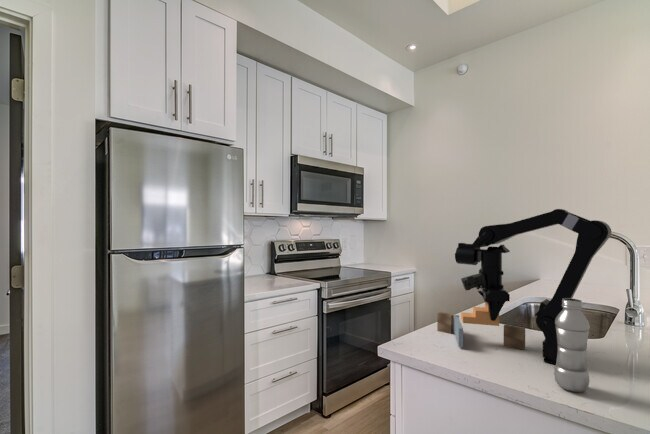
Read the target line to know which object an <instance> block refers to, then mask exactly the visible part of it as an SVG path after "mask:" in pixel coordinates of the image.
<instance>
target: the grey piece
mask: <svg viewBox="0 0 650 434" xmlns="http://www.w3.org/2000/svg"><path fill="white" fill-rule="evenodd" d="M460 319H461V318H460V315H458V314H453V333H452V334H454V336H455V340H456V343H457V345H458V347H459V348H463V347H464V328H463V325H462V323H461V322H462V321H461V320H460Z"/></svg>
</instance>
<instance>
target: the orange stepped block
mask: <svg viewBox="0 0 650 434" xmlns="http://www.w3.org/2000/svg"><path fill="white" fill-rule="evenodd" d="M460 319H461V320H460V321H461V322H462V323H463V324H468V325H469V324H472V325H483V326H494V327H495V326H496V327H499V326H500V313H499V314H498V316H497V318H496V320H495V321H492V320H491V318H490V312H489V307H488V303H487V302H484V307H480V306H472V312H460Z"/></svg>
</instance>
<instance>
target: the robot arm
mask: <svg viewBox="0 0 650 434" xmlns="http://www.w3.org/2000/svg"><path fill="white" fill-rule="evenodd" d="M556 225H559V226H562V227H564V228H565V229H567V230H570V231H572V232H573V233H576V234H577V238H576V243H575V250H574V253H573V255H572V257H571V259H570V261H569V263H568V266H567V268H566V269H565V271H564V273H563V275H562V278H561V280H560V281H559V284H558V286H557V288H556V290H555V292H554V294H553V296H552V298H551V299H550V300H549V299H547V298H546V299H545V300H543V301H541V302H540V304H539V308H538V310H537V312H536V313H535V314H534V316H535V317H536V319H535V324H536V326H537V327H538V328H539V330H540V331H541V332H542V333H543V336H544V338H545V339H544V340H543V341H542V358H543V362H544V363H548V364H553V365H556V361H557V352H558V344H557V333H556V325H555V319H556V317H557V316H558V314H559V313H560V312H561V311H562V310H563V307H562V299H563V298H572V299H574V295H575V293H576V291H577V289H578V287H579V286H580V283H581V281H582V280H583V278H584V276H585V274H586V272H587V270H588V268H589V265H590V264H591V262H592V260H593V258H594V256H595V255H596V254H597V253H599V251H600V250H601V249H602V247H603V246H604V245H605V244H606V243H607V242H608V240H609V239H610V237H611V236H612V228H611V226H610V225H609V224H608V223H606V222H604V221H601V220H590V219H588V218H585V217H582V216H579V215H576V214H575V213H571V212H570V211H568V210H566V209H563V208H555V209H553V210H552V211H548V212H545V213H542V214H537V215H534V216H531V217H527V218H524V219H521V220H517V221H514V222H509V223H500V224H492V225H484V226H482V227H481V228H480V229H479V231H478V236H477V237H476V239H475V240H474V241H473V243H465V242H458V244H457V248H456V250H455V253H454V259H455V263H456V264H460V265H470V266H477V265H478V264H479V263H480V268H479V270H478V273H476V274H471V275H468V276H465V277H461V278H460V280H461V283H462V286H463V288H464V290H465V291H470V290H471V289H475V288H476V290H477V293H479V294H480V295H481V296H482V299H483V300H484V301H483V302H484V303H485V302H487V303H488V307H489V312H490V318H491V320H492V321H495V320H496V318H497V316H498V314H499V315H500V311H502V308H503V307H504V305H505V303H507V302H510V301H511V300H510V298H511V297H510V293H508V291H506V290H505V288H504V285H503V276H504V271H503V267H502V266H503V254H507V253H510V250H509V248H507V247H506V246H505V244H501V243H503V242H505V241H507V240H509V239H511V238H512V239H513V237H515V236H518V235H522V234H527V233H529V232H534V231H537V230H541V229H545V228H548V227H553V226H556ZM498 244H500V245H499V246H493V245H498ZM491 245H492V246H491ZM483 247H485V248H486V247H487V248H486V249H485V248H483Z"/></svg>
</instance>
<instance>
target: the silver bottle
mask: <svg viewBox="0 0 650 434" xmlns="http://www.w3.org/2000/svg"><path fill="white" fill-rule="evenodd" d="M562 307H563V310H562V311H561V312H560V313H559V314H558V316H557V317H556V319H555V325H556V333H557V344H558V352H557V361H556V364H554V365H555V366H554V372H553V376H554V381H555V382H556V384H557V385H558V386H559V387H560V388H562V389H564V390H567V391H571V392H576V393H582V392H585V391H587V390H588V388H589V385H590V375H589V371H588V364H587V363H588V362H587V349H588V347H587V346H588V338H589V335H590V334H589V333H590V328H591V325H590V323H589V320H588V318H587V317H586V316H585V315H584V313H583V312H582V310H583V302H582V300H581V299H577V298H563V299H562Z"/></svg>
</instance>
